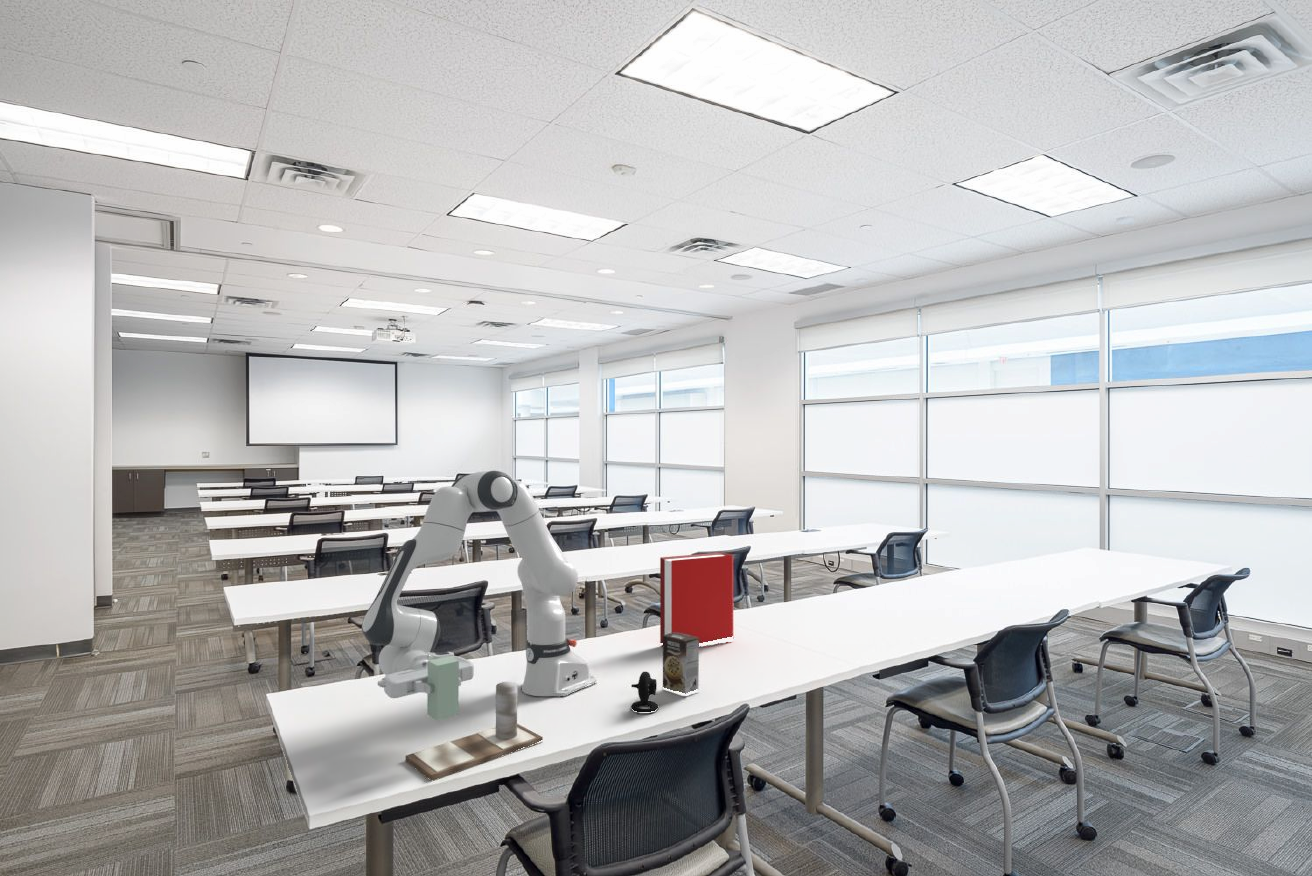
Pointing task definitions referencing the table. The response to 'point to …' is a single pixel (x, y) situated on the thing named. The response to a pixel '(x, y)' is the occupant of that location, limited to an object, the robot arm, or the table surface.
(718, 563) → the book
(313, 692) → the table surface
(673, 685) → the coffee box
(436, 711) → the sage green tall pillar
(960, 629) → the table surface
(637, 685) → the webcam
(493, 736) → the board
